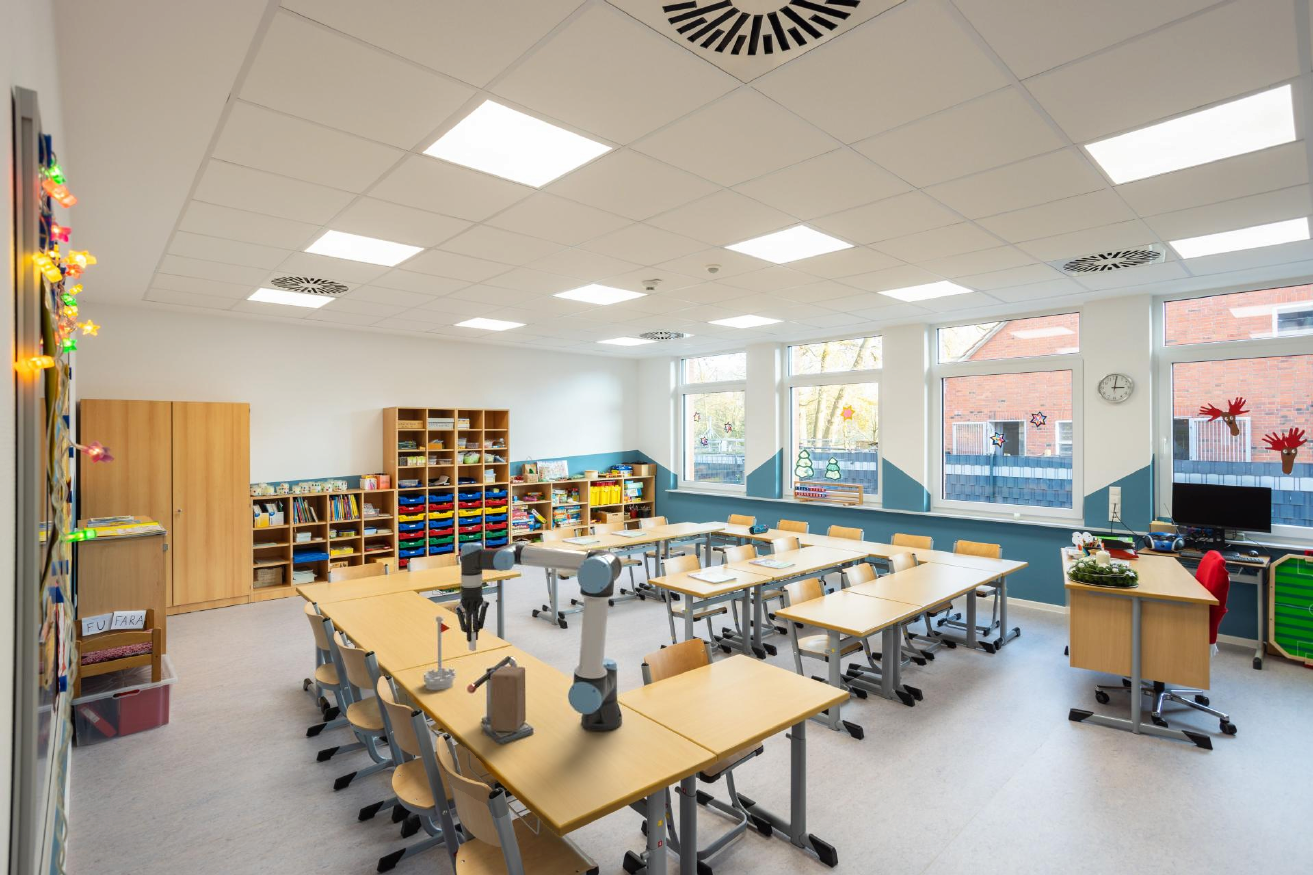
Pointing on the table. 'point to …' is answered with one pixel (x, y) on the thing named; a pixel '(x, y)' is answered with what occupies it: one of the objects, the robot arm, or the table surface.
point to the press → (502, 736)
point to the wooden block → (507, 698)
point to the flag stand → (439, 666)
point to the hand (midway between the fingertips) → (472, 649)
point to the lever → (474, 686)
